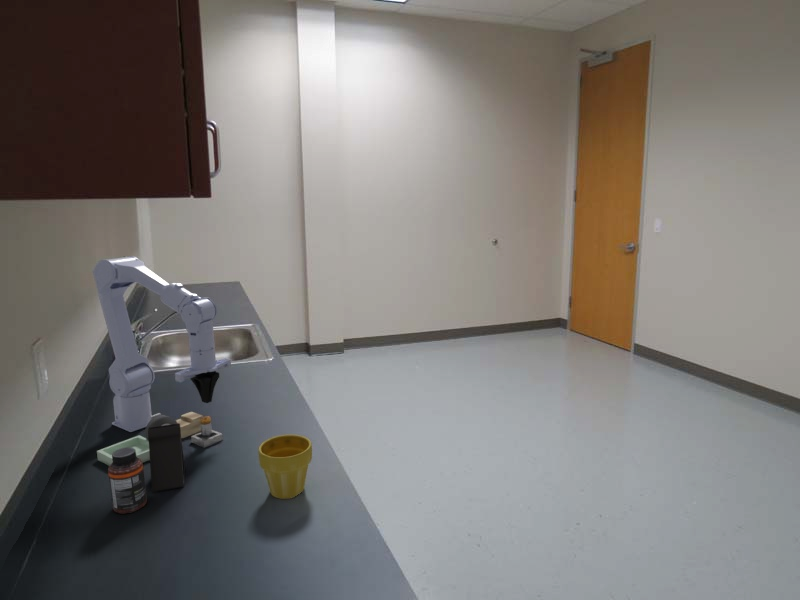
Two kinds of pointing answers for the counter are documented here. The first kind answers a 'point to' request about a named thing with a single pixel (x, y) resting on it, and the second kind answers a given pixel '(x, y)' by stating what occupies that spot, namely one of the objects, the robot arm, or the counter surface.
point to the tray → (136, 442)
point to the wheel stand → (159, 422)
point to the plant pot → (285, 464)
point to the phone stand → (166, 457)
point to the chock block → (189, 424)
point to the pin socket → (207, 442)
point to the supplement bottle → (127, 481)
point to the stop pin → (206, 427)
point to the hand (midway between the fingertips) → (206, 401)
